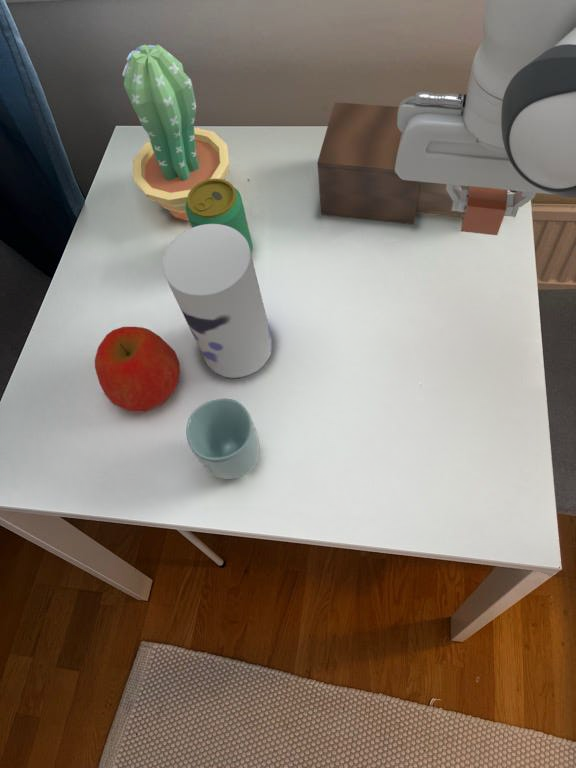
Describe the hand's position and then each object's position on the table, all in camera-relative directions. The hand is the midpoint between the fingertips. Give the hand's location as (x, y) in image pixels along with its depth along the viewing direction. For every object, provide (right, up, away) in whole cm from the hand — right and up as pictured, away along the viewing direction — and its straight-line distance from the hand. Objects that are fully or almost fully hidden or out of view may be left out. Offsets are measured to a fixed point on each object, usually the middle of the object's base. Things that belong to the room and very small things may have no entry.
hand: (483, 209), depth 64 cm
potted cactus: (-37, +11, +32) cm, 50 cm away
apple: (-41, -19, +17) cm, 49 cm away
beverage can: (-31, +1, +26) cm, 41 cm away
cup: (-29, -29, +11) cm, 42 cm away
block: (0, -1, +1) cm, 2 cm away
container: (-29, -14, +18) cm, 37 cm away
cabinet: (-8, +12, +29) cm, 32 cm away
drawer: (+4, +10, +26) cm, 28 cm away
